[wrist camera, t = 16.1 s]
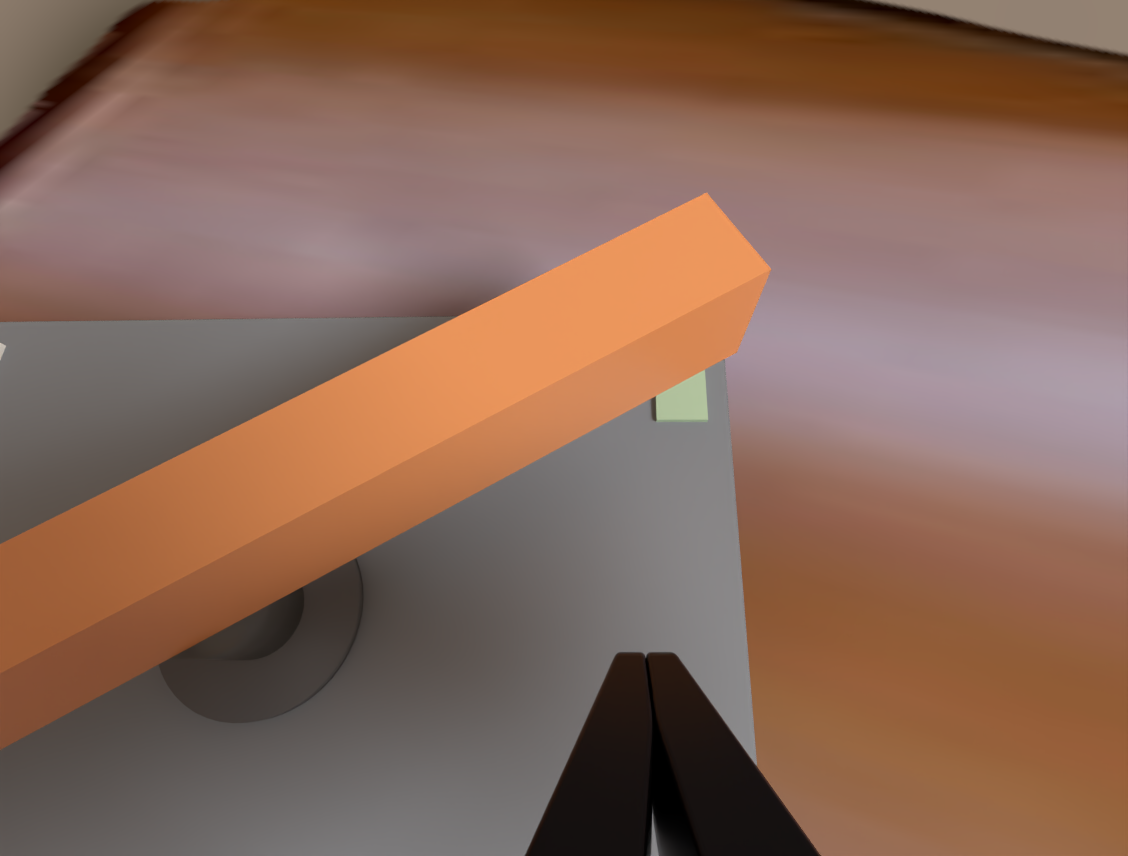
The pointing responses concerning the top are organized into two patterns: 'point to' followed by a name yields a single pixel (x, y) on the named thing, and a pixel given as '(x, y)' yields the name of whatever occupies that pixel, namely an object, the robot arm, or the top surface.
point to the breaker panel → (365, 611)
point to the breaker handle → (359, 465)
